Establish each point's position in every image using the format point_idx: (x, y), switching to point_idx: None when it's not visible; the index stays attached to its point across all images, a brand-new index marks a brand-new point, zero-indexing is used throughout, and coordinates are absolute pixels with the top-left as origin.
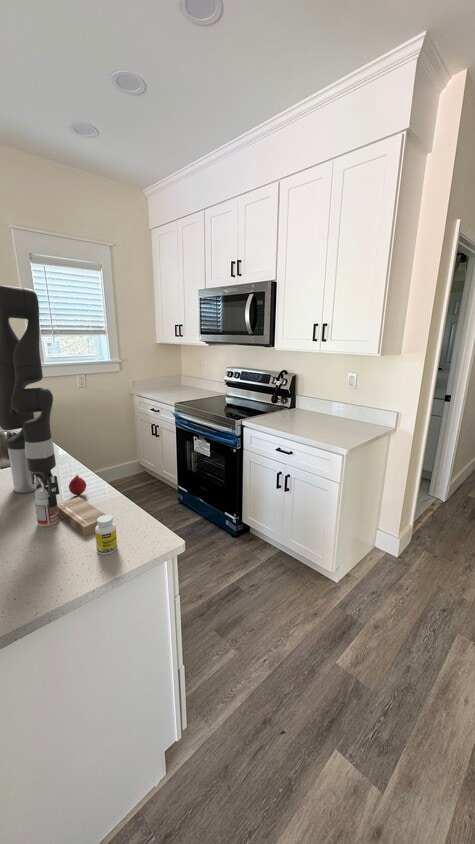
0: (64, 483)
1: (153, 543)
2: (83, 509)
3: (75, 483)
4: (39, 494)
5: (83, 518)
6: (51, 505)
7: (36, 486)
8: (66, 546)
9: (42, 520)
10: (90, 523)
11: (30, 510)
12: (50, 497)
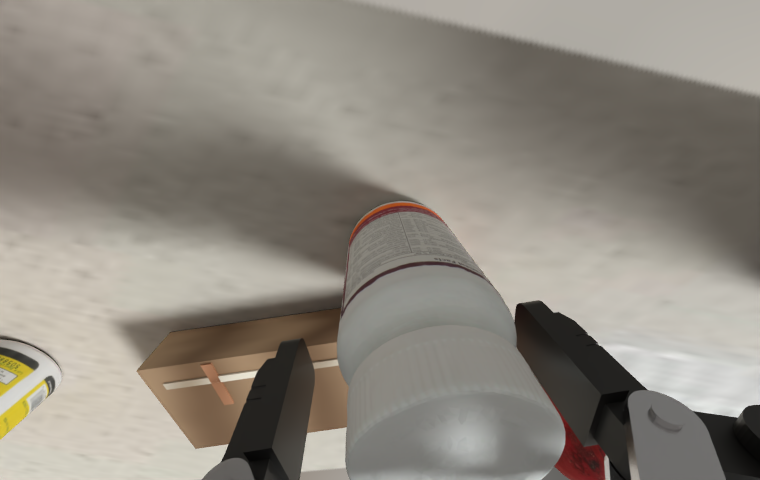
0: (704, 368)
1: (23, 460)
2: (330, 399)
3: (577, 456)
4: (375, 406)
5: (232, 384)
6: (270, 364)
7: (632, 434)
8: (103, 257)
9: (360, 231)
10: (162, 394)
11: (599, 201)
12: (230, 458)
